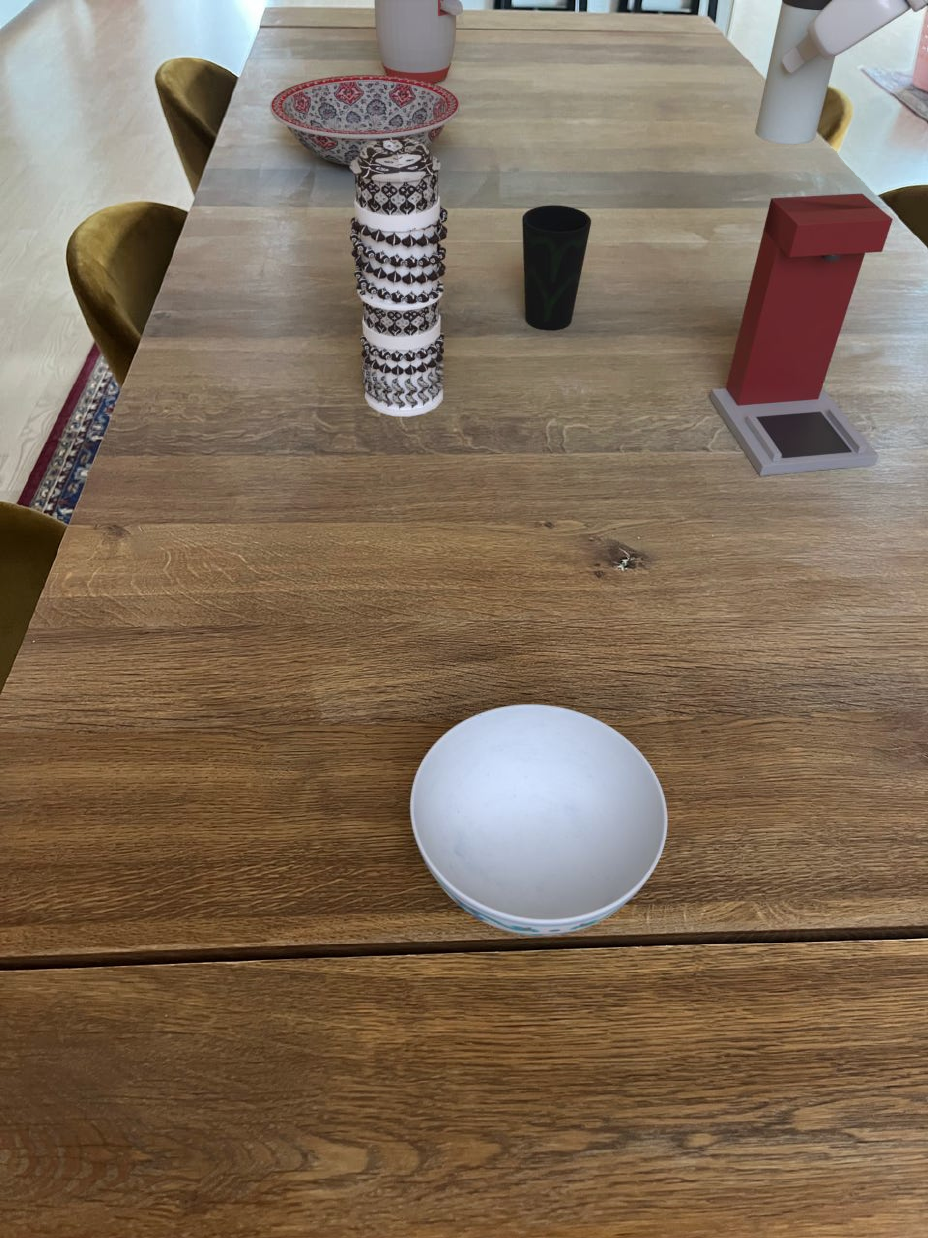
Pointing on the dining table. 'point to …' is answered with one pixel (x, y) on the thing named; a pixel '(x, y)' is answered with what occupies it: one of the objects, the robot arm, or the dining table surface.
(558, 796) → the chinaware
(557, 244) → the cup
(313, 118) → the ceramic bowl
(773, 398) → the coffee machine
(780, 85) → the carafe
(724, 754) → the dining table surface
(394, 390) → the stacked patterned cylinder
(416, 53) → the citrus juicer
